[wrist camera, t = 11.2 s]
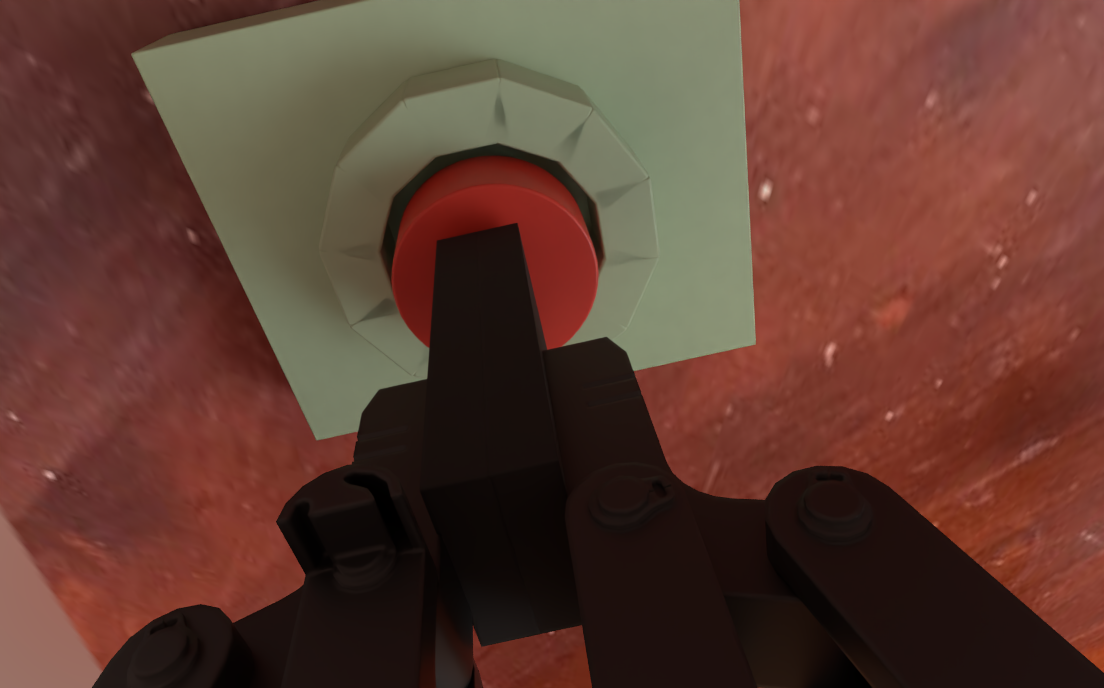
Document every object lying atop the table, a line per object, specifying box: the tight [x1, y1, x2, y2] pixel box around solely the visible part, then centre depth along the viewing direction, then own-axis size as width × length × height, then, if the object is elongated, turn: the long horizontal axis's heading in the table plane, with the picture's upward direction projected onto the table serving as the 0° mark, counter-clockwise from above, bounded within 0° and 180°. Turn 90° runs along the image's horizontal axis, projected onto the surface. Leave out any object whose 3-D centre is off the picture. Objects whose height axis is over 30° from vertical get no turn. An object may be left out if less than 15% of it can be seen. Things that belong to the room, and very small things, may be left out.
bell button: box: [391, 155, 599, 350], centre depth 15 cm, size 4×4×2 cm
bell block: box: [132, 0, 756, 440], centre depth 17 cm, size 12×10×4 cm
